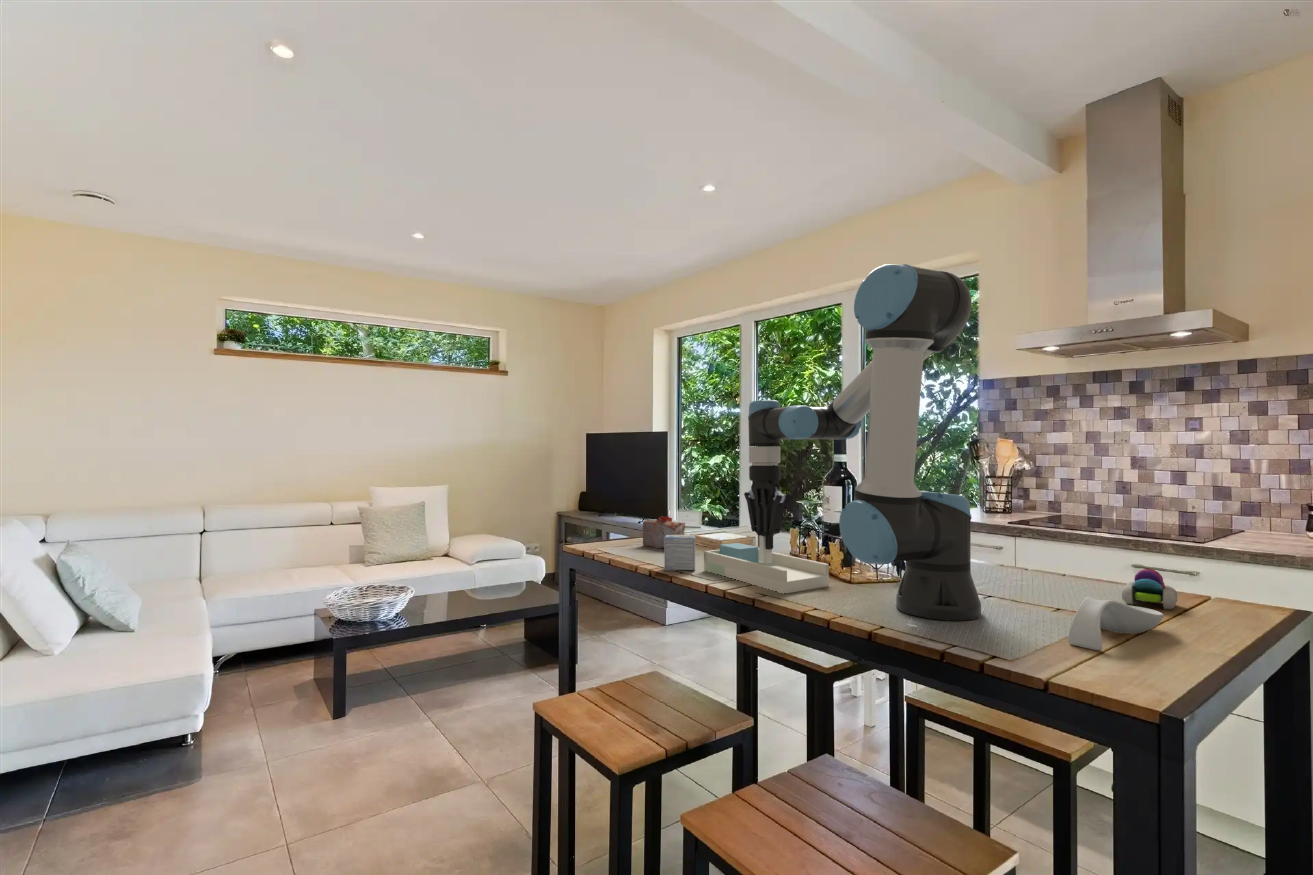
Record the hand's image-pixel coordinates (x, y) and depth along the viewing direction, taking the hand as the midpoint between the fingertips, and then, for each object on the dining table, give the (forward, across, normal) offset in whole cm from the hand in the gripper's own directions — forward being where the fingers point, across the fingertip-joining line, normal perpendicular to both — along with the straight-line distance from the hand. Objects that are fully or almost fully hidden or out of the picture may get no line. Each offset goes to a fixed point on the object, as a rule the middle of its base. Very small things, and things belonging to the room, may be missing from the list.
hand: (765, 562), depth 151 cm
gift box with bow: (+4, +52, -4) cm, 52 cm away
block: (+1, +10, 0) cm, 10 cm away
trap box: (+4, +1, 0) cm, 4 cm away
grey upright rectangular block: (+4, +21, +11) cm, 24 cm away
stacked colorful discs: (+5, -60, -49) cm, 77 cm away
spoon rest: (+5, -64, -20) cm, 68 cm away
